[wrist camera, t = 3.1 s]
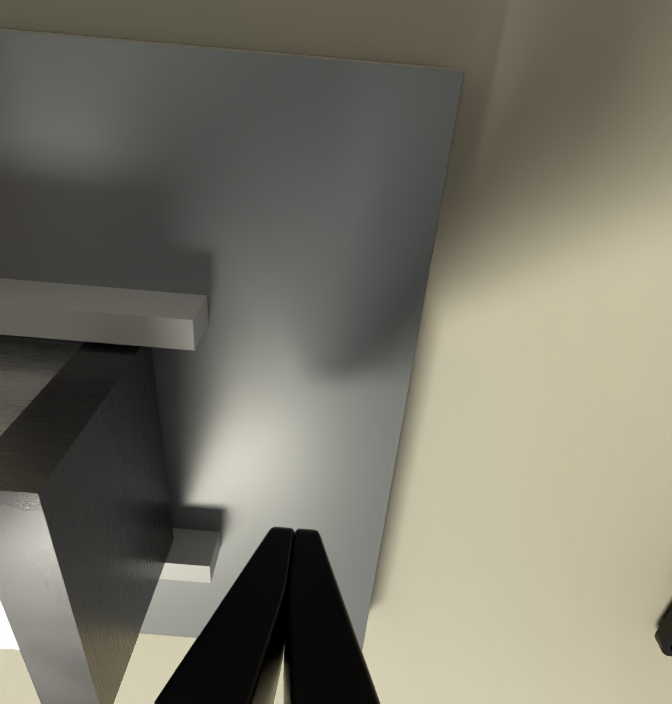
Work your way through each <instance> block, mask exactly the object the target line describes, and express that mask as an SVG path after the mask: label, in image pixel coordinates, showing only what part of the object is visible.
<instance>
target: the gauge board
mask: <svg viewBox="0 0 672 704" xmlns="http://www.w3.org/2000/svg"><path fill="white" fill-rule="evenodd" d="M463 76H464V71H462V70H458V69H455V68H447V67H435V66H424V65H413V64H401V63H390V62H379V61H367V60H356V59H345V58H333V57H322V56H310V55H299V54H288V53H276V52H265V51H254V50H242V49H231V48H220V47H208V46H197V45H186V44H174V43H163V42H151V41H140V40H129V39H117V38H106V37H95V36H83V35H72V34H61V33H49V32H38V31H27V30H15V29H4V28H0V336H9V337H21V338H33V339H45V340H57V341H69V342H81V343H84V342H97V343H109V344H121V345H133V346H145V347H151V350H152V359H153V367H154V375H155V384H156V392H157V401H158V409H159V418H160V426H161V435H162V443H163V452H164V460H165V469H166V477H167V486H168V494H169V502H170V511H171V519H172V528H173V536H174V540H173V543H172V545H171V548H170V551H169V553H168V556H167V559H166V562H165V564H164V567H163V570H162V573H161V575H160V578H159V581H158V583H157V586H156V589H155V592H154V594H153V597H152V600H151V603H150V605H149V608H148V611H147V613H146V616H145V619H144V622H143V624H142V627H141V630H140V632H139V633H143V634H155V635H168V636H181V637H194V638H198V636H199V635H200V633H201V632H202V630H203V629H204V627H205V626H206V624H207V623H208V621H209V620H210V618H211V617H212V615H213V614H214V612H215V611H216V609H217V608H218V606H219V605H220V603H221V602H222V600H223V599H224V597H225V596H226V594H227V593H228V591H229V590H230V588H231V587H232V585H233V584H234V582H235V581H236V579H237V578H238V576H239V575H240V573H241V572H242V570H243V569H244V567H245V566H246V564H247V563H248V561H249V560H250V558H251V557H252V555H253V554H254V552H255V551H256V549H257V548H258V546H259V545H260V543H261V542H262V540H263V539H264V537H265V536H266V534H267V533H268V531H269V530H270V529H271V528H272V527H287V528H292V529H294V531H296V530H297V529H299V528H300V529H313V530H317V531H318V532H319V533H320V536H321V538H322V541H323V544H324V547H325V550H326V553H327V555H328V558H329V561H330V564H331V567H332V569H333V572H334V575H335V578H336V581H337V583H338V586H339V589H340V592H341V595H342V597H343V600H344V603H345V606H346V609H347V611H348V614H349V617H350V620H351V623H352V626H353V628H354V631H355V634H356V637H357V640H358V642H359V645H360V648H361V651H362V648H363V642H364V637H365V631H366V625H367V620H368V614H369V608H370V603H371V597H372V591H373V586H374V580H375V574H376V569H377V563H378V557H379V552H380V546H381V540H382V535H383V529H384V523H385V518H386V512H387V506H388V501H389V495H390V489H391V484H392V478H393V472H394V467H395V461H396V456H397V450H398V444H399V439H400V433H401V427H402V422H403V416H404V410H405V405H406V399H407V393H408V388H409V382H410V376H411V371H412V365H413V359H414V354H415V348H416V342H417V337H418V331H419V325H420V320H421V314H422V308H423V303H424V297H425V291H426V286H427V280H428V274H429V269H430V263H431V257H432V252H433V246H434V240H435V235H436V229H437V223H438V218H439V212H440V206H441V201H442V195H443V190H444V184H445V178H446V173H447V167H448V161H449V156H450V150H451V144H452V139H453V133H454V127H455V122H456V116H457V110H458V105H459V99H460V93H461V88H462V82H463Z"/></svg>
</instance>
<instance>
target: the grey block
mask: <svg viewBox="0 0 672 704" xmlns="http://www.w3.org/2000/svg"><path fill="white" fill-rule="evenodd" d="M173 540H174V536H173V528H172V519H171V511H170V502H169V494H168V486H167V477H166V469H165V460H164V452H163V443H162V435H161V426H160V418H159V409H158V401H157V392H156V384H155V375H154V367H153V359H152V350H151V347H145V346H133V345H121V344H109V343H97V342H84V343H81V342H69V341H57V340H45V339H33V338H21V337H9V336H0V648H4V649H17V650H20V652H21V654H22V657H23V659H24V662H25V664H26V667H27V669H28V672H29V674H30V677H31V679H32V682H33V684H34V687H35V689H36V692H37V694H38V697H39V699H40V702H41V704H113V703H114V701H115V698H116V695H117V692H118V690H119V687H120V684H121V682H122V679H123V676H124V673H125V671H126V668H127V665H128V662H129V660H130V657H131V654H132V652H133V649H134V646H135V643H136V641H137V638H138V635H139V632H140V630H141V627H142V624H143V622H144V619H145V616H146V613H147V611H148V608H149V605H150V603H151V600H152V597H153V594H154V592H155V589H156V586H157V583H158V581H159V578H160V575H161V573H162V570H163V567H164V564H165V562H166V559H167V556H168V553H169V551H170V548H171V545H172V543H173Z"/></svg>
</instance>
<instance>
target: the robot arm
mask: <svg viewBox="0 0 672 704" xmlns="http://www.w3.org/2000/svg"><path fill="white" fill-rule="evenodd" d="M655 638H656V641H657V643H658V645H659V647H660V649H661V651H662V653H664V654H665V655H667V656H672V608H671V610H670V612H669V613H668V615H667V616H666V618H665V619H664V621H663V622H662V624H661V625H660V627H659V628H658V630H657V631H656V634H655ZM283 653H284V704H380V701H379V699H378V696H377V693H376V690H375V687H374V684H373V682H372V679H371V676H370V673H369V670H368V668H367V665H366V662H365V659H364V656H363V654H362V651H361V648H360V645H359V642H358V640H357V637H356V634H355V631H354V628H353V626H352V623H351V620H350V617H349V614H348V611H347V609H346V606H345V603H344V600H343V597H342V595H341V592H340V589H339V586H338V583H337V581H336V578H335V575H334V572H333V569H332V567H331V564H330V561H329V558H328V555H327V553H326V550H325V547H324V544H323V541H322V538H321V536H320V533H319V532H318V531H317V530H313V529H300V528H299V529H297V530H296V531H294V529H292V528H287V527H272V528H271V529H270V530H269V531H268V533H267V534H266V536H265V537H264V539H263V540H262V542H261V543H260V545H259V546H258V548H257V549H256V551H255V552H254V554H253V555H252V557H251V558H250V560H249V561H248V563H247V564H246V566H245V567H244V569H243V570H242V572H241V573H240V575H239V576H238V578H237V579H236V581H235V582H234V584H233V585H232V587H231V588H230V590H229V591H228V593H227V594H226V596H225V597H224V599H223V600H222V602H221V603H220V605H219V606H218V608H217V609H216V611H215V612H214V614H213V615H212V617H211V618H210V620H209V621H208V623H207V624H206V626H205V627H204V629H203V630H202V632H201V633H200V635H199V636H198V638H197V639H196V641H195V642H194V644H193V645H192V647H191V648H190V650H189V651H188V653H187V654H186V656H185V657H184V659H183V660H182V662H181V663H180V665H179V666H178V668H177V669H176V671H175V672H174V674H173V675H172V677H171V678H170V680H169V681H168V683H167V684H166V686H165V687H164V689H163V690H162V692H161V693H160V695H159V696H158V698H157V699H156V701H155V703H154V704H273V703H274V699H275V694H276V689H277V685H278V680H279V676H280V671H281V665H282V660H283Z"/></svg>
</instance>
